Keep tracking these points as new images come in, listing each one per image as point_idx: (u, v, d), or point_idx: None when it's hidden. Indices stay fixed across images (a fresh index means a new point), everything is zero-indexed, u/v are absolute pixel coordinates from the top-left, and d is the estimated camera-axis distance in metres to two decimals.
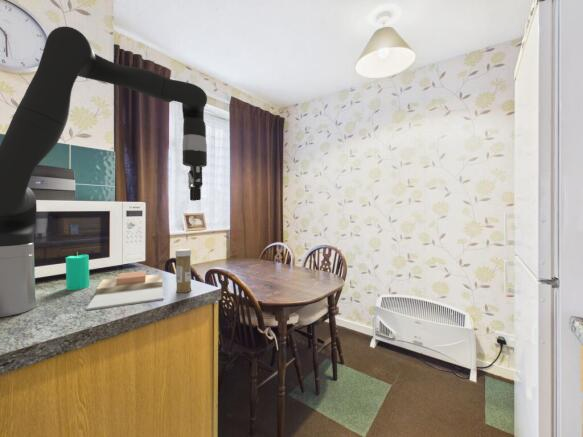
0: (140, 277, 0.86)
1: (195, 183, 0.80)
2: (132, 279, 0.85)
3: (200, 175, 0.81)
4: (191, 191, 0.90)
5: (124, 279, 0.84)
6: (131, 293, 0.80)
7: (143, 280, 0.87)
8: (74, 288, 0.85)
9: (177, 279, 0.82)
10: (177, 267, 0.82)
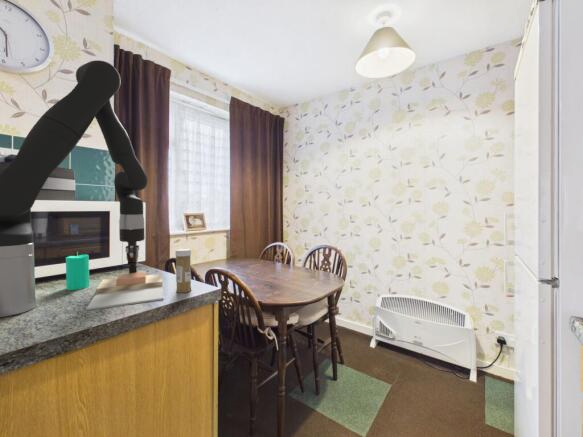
0: (140, 278, 0.85)
1: (129, 264, 0.89)
2: (132, 280, 0.84)
3: (134, 259, 0.88)
4: None
5: (124, 280, 0.83)
6: (131, 293, 0.80)
7: (143, 281, 0.86)
8: (74, 288, 0.85)
9: (177, 279, 0.82)
10: (177, 267, 0.82)
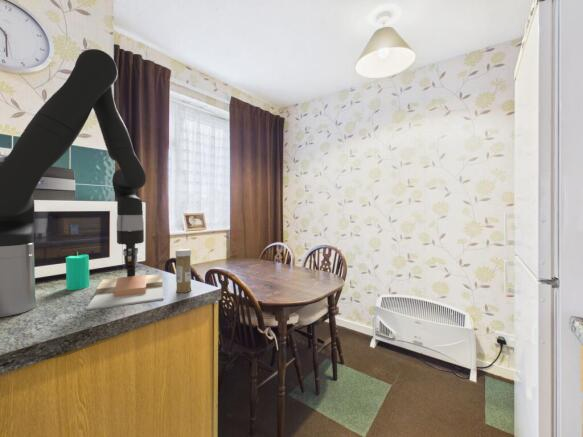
0: (140, 288, 0.79)
1: (127, 268, 0.83)
2: (131, 291, 0.78)
3: (132, 263, 0.82)
4: None
5: (123, 291, 0.77)
6: None
7: (143, 291, 0.80)
8: (74, 288, 0.85)
9: (177, 279, 0.82)
10: (177, 267, 0.82)
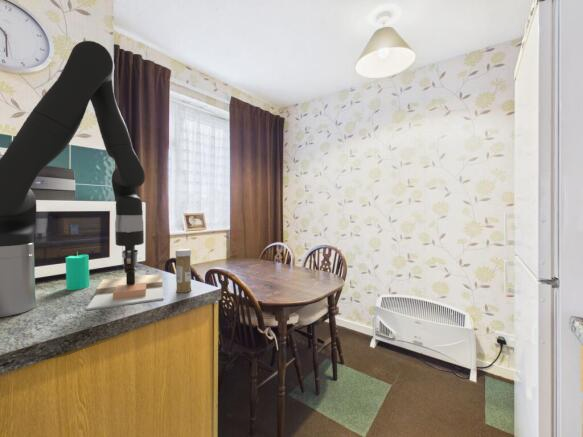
0: (140, 290, 0.77)
1: (126, 271, 0.79)
2: (131, 293, 0.76)
3: (132, 266, 0.78)
4: None
5: (122, 293, 0.75)
6: None
7: (143, 294, 0.77)
8: (74, 288, 0.85)
9: (177, 279, 0.82)
10: (177, 267, 0.82)
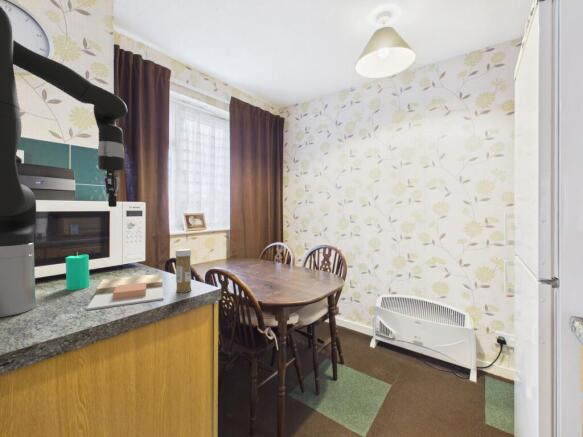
0: (140, 290, 0.77)
1: (108, 192, 0.88)
2: (131, 293, 0.76)
3: (112, 187, 0.87)
4: None
5: (122, 293, 0.75)
6: None
7: (143, 294, 0.77)
8: (74, 288, 0.85)
9: (177, 279, 0.82)
10: (177, 267, 0.82)
